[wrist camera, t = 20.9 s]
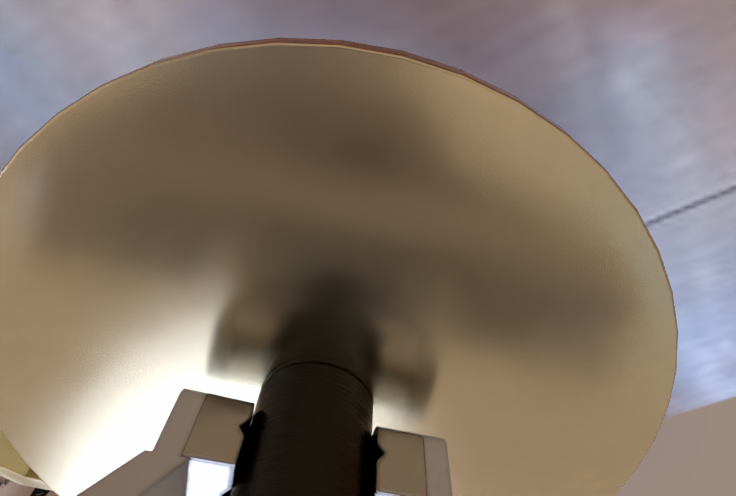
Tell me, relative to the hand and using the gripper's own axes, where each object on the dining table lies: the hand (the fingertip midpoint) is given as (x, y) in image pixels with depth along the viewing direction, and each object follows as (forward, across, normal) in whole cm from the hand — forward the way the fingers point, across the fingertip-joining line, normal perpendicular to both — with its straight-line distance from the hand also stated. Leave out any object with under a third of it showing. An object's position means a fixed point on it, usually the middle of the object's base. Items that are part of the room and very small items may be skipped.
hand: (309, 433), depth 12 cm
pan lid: (+1, 0, 0) cm, 1 cm away
